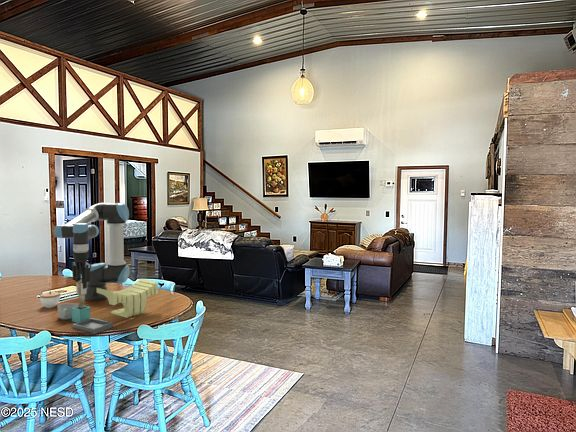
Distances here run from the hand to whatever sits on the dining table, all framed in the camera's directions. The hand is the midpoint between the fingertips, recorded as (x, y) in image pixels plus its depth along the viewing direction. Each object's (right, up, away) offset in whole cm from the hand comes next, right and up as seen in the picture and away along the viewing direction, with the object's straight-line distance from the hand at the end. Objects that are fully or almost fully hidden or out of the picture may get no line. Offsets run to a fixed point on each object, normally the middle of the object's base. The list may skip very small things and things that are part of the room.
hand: (81, 293), depth 216 cm
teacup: (-10, -16, +4) cm, 19 cm away
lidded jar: (-34, -14, +28) cm, 46 cm away
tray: (+11, -17, -9) cm, 22 cm away
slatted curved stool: (+20, -16, +16) cm, 30 cm away
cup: (0, -16, +1) cm, 16 cm away
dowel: (0, -9, +1) cm, 9 cm away
